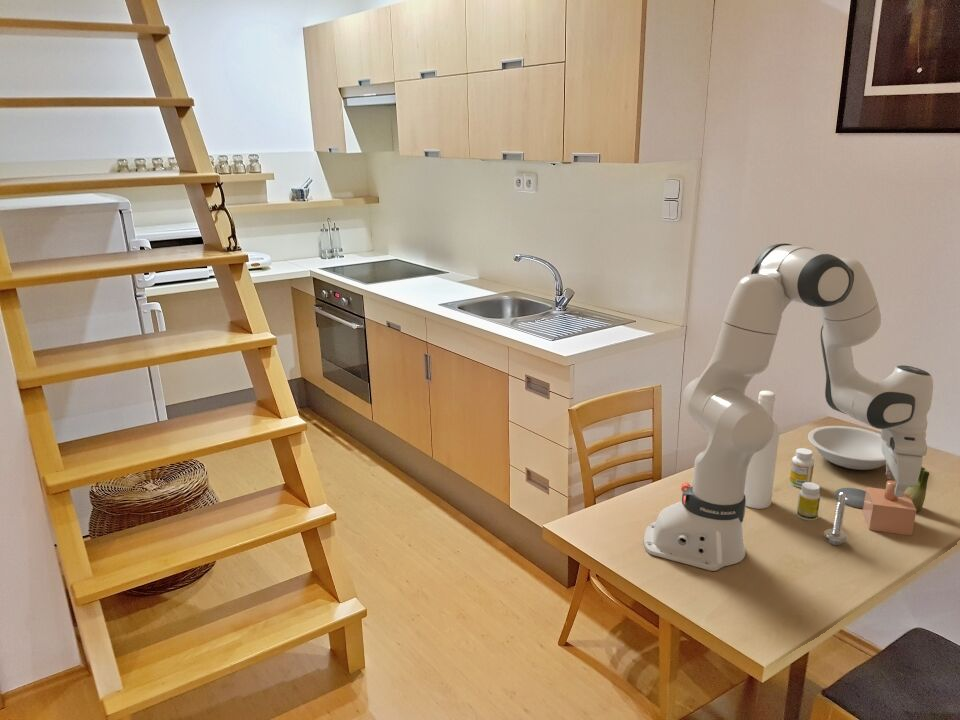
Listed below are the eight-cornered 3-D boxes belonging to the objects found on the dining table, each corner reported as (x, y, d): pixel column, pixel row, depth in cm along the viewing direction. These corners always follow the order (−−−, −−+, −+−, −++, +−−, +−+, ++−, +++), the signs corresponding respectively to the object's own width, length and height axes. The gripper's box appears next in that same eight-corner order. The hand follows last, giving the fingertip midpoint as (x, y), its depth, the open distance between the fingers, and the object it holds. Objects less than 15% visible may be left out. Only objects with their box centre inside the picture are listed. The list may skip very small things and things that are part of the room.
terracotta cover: (869, 529, 170) (876, 489, 167) (862, 511, 178) (869, 472, 175) (911, 535, 167) (919, 494, 164) (903, 516, 176) (910, 477, 172)
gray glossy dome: (837, 505, 181) (837, 503, 181) (832, 487, 190) (832, 485, 190) (881, 511, 178) (881, 509, 178) (874, 492, 187) (874, 490, 187)
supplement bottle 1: (800, 477, 196) (805, 445, 193) (815, 486, 191) (820, 453, 188) (784, 481, 194) (789, 448, 192) (799, 489, 190) (803, 456, 187)
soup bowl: (797, 468, 202) (799, 447, 200) (814, 439, 220) (816, 419, 218) (893, 490, 189) (897, 467, 187) (902, 457, 207) (906, 437, 205)
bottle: (739, 507, 181) (751, 396, 172) (737, 492, 188) (748, 386, 179) (772, 510, 179) (786, 399, 170) (769, 496, 186) (782, 388, 177)
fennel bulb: (924, 515, 176) (933, 471, 173) (902, 512, 178) (910, 468, 174) (919, 504, 182) (927, 461, 178) (897, 501, 183) (905, 458, 179)
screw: (822, 545, 164) (823, 534, 168) (846, 550, 162) (846, 539, 166) (830, 494, 160) (831, 485, 164) (854, 499, 158) (854, 490, 162)
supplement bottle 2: (819, 521, 174) (823, 491, 171) (798, 520, 175) (802, 489, 172) (814, 512, 178) (818, 482, 176) (794, 510, 179) (798, 480, 177)
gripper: (879, 415, 176) (871, 466, 180) (897, 449, 158) (887, 504, 162) (908, 418, 174) (899, 469, 178) (929, 452, 156) (919, 508, 160)
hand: (894, 486), depth 170 cm, fingers open, 8 cm apart
